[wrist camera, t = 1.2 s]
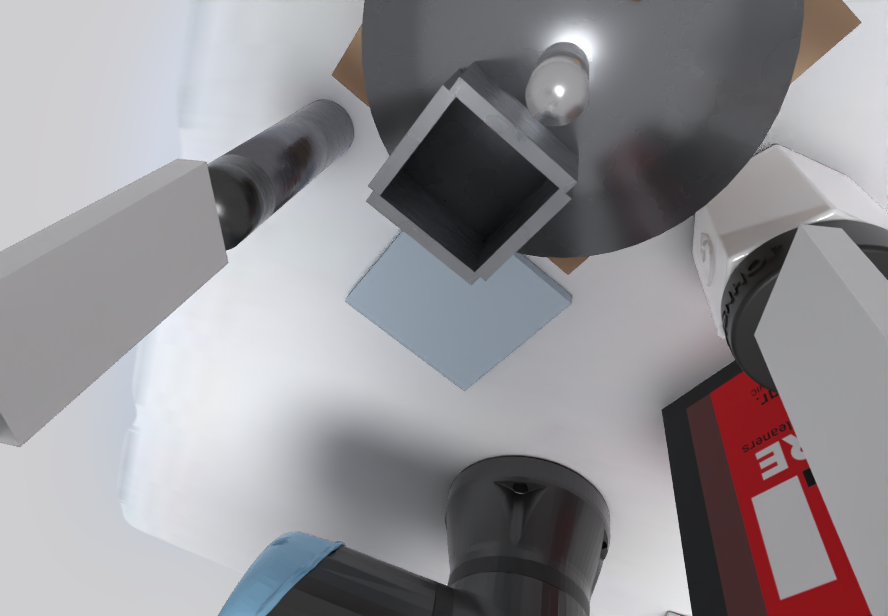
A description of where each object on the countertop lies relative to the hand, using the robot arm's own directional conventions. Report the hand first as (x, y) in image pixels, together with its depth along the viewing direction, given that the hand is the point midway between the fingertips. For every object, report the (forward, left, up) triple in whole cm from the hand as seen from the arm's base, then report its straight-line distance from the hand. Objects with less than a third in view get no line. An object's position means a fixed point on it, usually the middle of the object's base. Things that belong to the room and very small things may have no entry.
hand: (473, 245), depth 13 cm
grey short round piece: (+2, 0, -16) cm, 16 cm away
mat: (-16, -6, -23) cm, 29 cm away
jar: (+2, -16, -23) cm, 28 cm away
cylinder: (-12, +8, -23) cm, 27 cm away
